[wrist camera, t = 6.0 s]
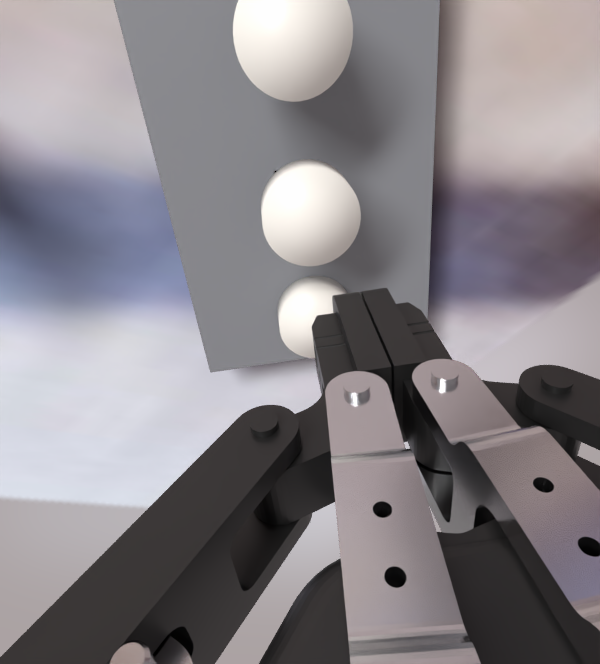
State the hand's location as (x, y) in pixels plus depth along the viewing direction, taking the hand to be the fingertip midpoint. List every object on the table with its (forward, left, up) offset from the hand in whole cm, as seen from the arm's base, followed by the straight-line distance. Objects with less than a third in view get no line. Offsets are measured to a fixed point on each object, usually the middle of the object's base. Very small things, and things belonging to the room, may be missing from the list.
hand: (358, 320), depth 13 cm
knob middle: (0, 0, -14) cm, 14 cm away
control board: (0, 0, -17) cm, 17 cm away
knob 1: (-7, 0, -14) cm, 16 cm away
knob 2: (+7, 0, -17) cm, 18 cm away
